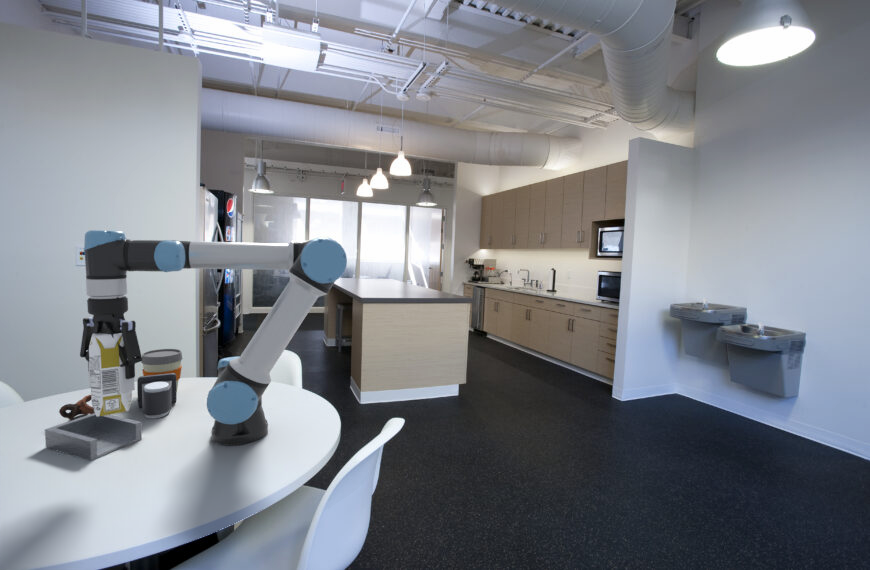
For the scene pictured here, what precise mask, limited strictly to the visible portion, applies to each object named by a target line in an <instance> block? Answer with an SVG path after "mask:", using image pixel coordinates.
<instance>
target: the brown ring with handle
mask: <svg viewBox="0 0 870 570" xmlns="http://www.w3.org/2000/svg"><path fill="white" fill-rule="evenodd" d="M90 401H92V399H91V394H88V395H85V396H84V397H83V398H82V399H80V400H78V401H77V402H76V403H66V404H65V405H63V406H61V407H60V409H59V410H58V413H59V415H60V416H61V417H63V418H65V419H68V420H69V421H72V420H75V417H77V416H79V415H90V414H93V413H95V412H94V409H93V406H92V405H89V404H88V402H90ZM67 411H69V412H67Z"/></svg>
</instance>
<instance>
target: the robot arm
mask: <svg viewBox="0 0 870 570" xmlns="http://www.w3.org/2000/svg"><path fill="white" fill-rule="evenodd" d="M83 246H84V248H83V253H84V263H85V277H86V279H85V286H86V287H85V288H86V289H85V291H86V296H88V297H89V298H88V299H86V302H87V304H86V305H87V313H88V314H89V315H92V317H91V316H90V317H84V318H83V319H82V325H83V329H82V338H81V343H80V344H81V345H80V350H79V351H80V352H79V356H80V358H85V360H86V362H87V368H88V369H87V370H88V377H89V382H88V383H89V388H90V389H91V381H90V362H89V345H90V340H91V337H92V334H93V333H94V334H98V333H101V334H111V335H112V337H113V334H116V333H122V337H123V341H124V346H123V347H122V346H120V345H119V343H118V342H117V343H118V348H119V357H120V359H121V361H122V364H121V365H120V382H121V393H123V394H124V393H127V392H130V391H132V392H133V391H135V378H136V367H135V365H136V364H137V363H140V362H142V352H141V349H140V345H139V340H138V339H139V338H138V336H137V331H136V327H137V326H136V321H135V320H126V318H125V316H124V315H125V314H126V313H127V312H128V311H129V302H128V301H129V298H128V297H127V296H125V295H127V294H128V284H127V278H128V277H127V276H128V275H127V273H128V272H161V273H163V272H164V273H170V272H180V271H182V270H186V269H187V270H189V269H198V270H199V269H200V270H201V269H204V270H205V269H206V270H207V269H208V270H209V269H211V270H212V269H213V270H214V269H215V270H217V269H218V270H264V271H265V270H266V271H267V270H268V271H270V270H271V271H273V270H274V271H275V270H276V271H277V270H278V271H282V270H283V271H288V275H289V276H288V277H289V281H288V283H286V286H285V287H284V289H283V291H281V293H280V295H279V296H278V298H277V300H276V301H275V302H274V304H273V305H272V307H271V308H270V310H269V312H268V314H267V315H266V317H265V318H264V319H263V320H262V323H260V326H259V327H258V329H257V331H256V332H255V333H254V334H253V336H252V337H251V340H250V341H249V342H248V344H247V345H246V347H245V349H243V351H242V353H241V355H240V356H230V357H224V358H221V359H219V361H218V362H217V371H218V372H217V379H216V380H215V382H214V384H213V386H212V387H211V389H210V390H209V392H208V394H207V397H206V408H207V412H208V414H209V415H210V416H211V418H213V419H214V423H213V426H212V428H211V436H210V437H211V438H210V439H211V440H212V441H213V442H214V443H215V444H218V445H222V446H238V445H239V446H240V445H244V444H249V443H253V442H255V441H258V440H260V439H262V438H263V437H265V436H266V435H267V434H268V431H269V423H268V420H267V418H266V416H265V412H264V408H263V406H262V405H263V404H262V403H263V402H262V401H263V398H262V396H263V395H264V392H265V391H266V390H267V388H268V386H269V385H270V383H271V381H272V379H271V378H272V377H271V375H270V374H271V372H272V370H273V369H274V367H275V365H276V364H277V362H278V361H279V359H280V357H281V356H282V354H283V353H284V351H285V350H286V348H287V347H288V345H289V343H290V342H291V340H292V339H293V337H294V336H295V334H296V332H297V331H298V329H299V328H300V326H301V324H302V323H303V321H304V320H305V318H306V317H307V315H308V314H309V312H310V311H311V309H312V308H313V306H314V304H315V303H316V302H317V300H318V299H319V298H320V297H322V296H327V295H328V293H329V292H330V291H331V289H332V287H333V286H334V284H335V283H336V281H337V280H339V279H340V278H341V277H342V276H343V275H344V273H345V272H346V269H347V264H348V258H347V253H346V251H345V249H344V248H343V246H342V245H341V244H340V243H339V242H338V241H336V240H334V239H332V238H331V237H326V236H325V237H324V236H320V237H316V238H313V239H308V240H291V241H290V242H288V243H268V242H267V243H265V242H264V243H263V242H261V243H260V242H235V241H234V242H231V241H230V242H228V241H199V240H198V241H195V240H194V241H193V240H192V241H189V240H176V239H175V240H174V239H172V240H171V239H165V240H157V239H156V240H154V239H149V240H147V239H144V240H141V239H137V240H135V239H128V238H127V237H126V235H125V232H124V231H122V230H121V231H119V230H96V229H95V230H93V229H91V230H88V231H86V233H84V245H83ZM113 338H114V337H113ZM127 358H128V360H127Z"/></svg>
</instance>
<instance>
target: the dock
mask: <svg viewBox="0 0 870 570" xmlns="http://www.w3.org/2000/svg"><path fill="white" fill-rule="evenodd" d="M44 433H45V434H44V438H45V448H46V447H47V448H46V449H49V448H50V450H53V449H54V450H53V451H56V450H58V451H57V452H59V451H61V452H60V453H63V452H64V454H66V453H67V454H66V455H71V456H74V457H75V458H76V457H77V458H81V459H83V460H88V461H93V460H96V459H98V458H101V457H103V456H106V455H108V454H110V453H113V452H115V451H118V450H120V449H122V448H124V447H126V446H129V445H131V444H134V443H135V442H139V441H141V440H142V439H143V438H142V436H143V435H142V433H143V432H142V421H138V420H134V419H130V418H126V417H122V416H118V415H115V414H110V415H104V416H96V414H95V413H93V414H86V415H85V416H82V417H79V418H76V419H75V418H74V419H73V420H72V421H71V420H69V421H67V422H64V423H60V424H58V425H53V426H52V427H51V426H50V427H48V428H45V429H44Z"/></svg>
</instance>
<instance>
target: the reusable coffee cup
mask: <svg viewBox="0 0 870 570" xmlns="http://www.w3.org/2000/svg"><path fill="white" fill-rule="evenodd" d="M141 356H142V361H141V364H142V368H143V369H141V370H142V376H148V375H158V374H167V373H175V374H176V393H178V387H179V380H180V379H181V374H182V369H183V368H182V360H183V352H182V350H181V349H177V348H161V349H153V350H148V351H145V352H143V353H141Z"/></svg>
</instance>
